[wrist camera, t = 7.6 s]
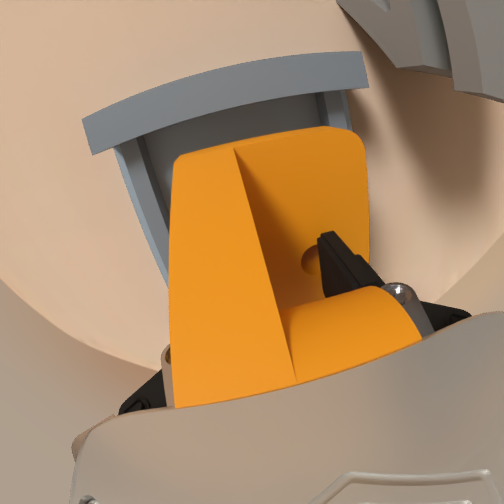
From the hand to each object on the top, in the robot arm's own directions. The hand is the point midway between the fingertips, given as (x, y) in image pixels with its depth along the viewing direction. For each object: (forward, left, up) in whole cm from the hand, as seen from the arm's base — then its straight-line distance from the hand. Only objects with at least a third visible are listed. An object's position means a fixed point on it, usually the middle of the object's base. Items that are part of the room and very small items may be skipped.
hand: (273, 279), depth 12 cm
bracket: (-1, 0, -3) cm, 3 cm away
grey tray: (0, 0, -8) cm, 8 cm away
